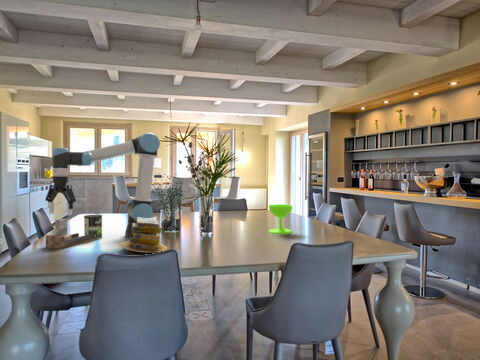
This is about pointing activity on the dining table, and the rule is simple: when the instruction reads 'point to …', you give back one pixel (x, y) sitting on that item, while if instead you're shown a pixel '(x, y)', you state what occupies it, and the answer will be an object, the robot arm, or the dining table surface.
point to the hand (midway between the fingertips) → (60, 214)
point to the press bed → (66, 241)
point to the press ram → (62, 228)
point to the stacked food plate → (144, 236)
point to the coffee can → (93, 226)
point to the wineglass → (280, 217)
